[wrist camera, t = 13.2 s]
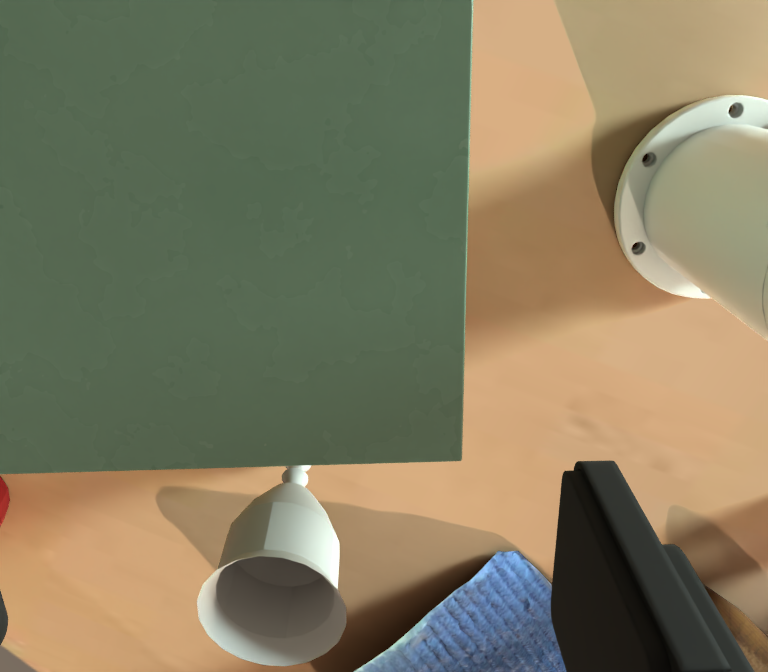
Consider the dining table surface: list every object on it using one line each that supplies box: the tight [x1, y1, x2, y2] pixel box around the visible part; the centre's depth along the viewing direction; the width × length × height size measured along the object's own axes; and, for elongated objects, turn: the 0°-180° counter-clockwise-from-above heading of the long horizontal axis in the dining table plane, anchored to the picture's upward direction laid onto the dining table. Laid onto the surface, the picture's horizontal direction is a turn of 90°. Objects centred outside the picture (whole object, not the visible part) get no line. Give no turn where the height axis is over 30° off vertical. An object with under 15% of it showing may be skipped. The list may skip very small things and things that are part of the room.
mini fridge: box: [0, 0, 473, 474], centre depth 31 cm, size 17×24×24 cm
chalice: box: [197, 465, 346, 666], centre depth 43 cm, size 7×7×18 cm
